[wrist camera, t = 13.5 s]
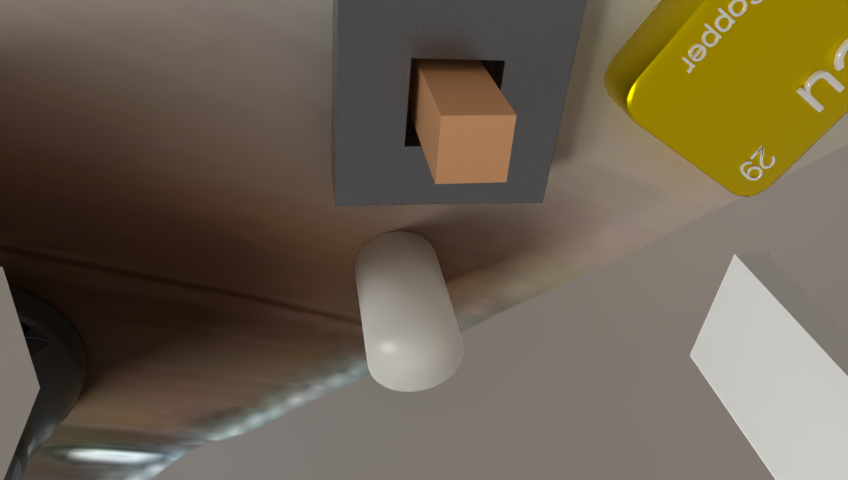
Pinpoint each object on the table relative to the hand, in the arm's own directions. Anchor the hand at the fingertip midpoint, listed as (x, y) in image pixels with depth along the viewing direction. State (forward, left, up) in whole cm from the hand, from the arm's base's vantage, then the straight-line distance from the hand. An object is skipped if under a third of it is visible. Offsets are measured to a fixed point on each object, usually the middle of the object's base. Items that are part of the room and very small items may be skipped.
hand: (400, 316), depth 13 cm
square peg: (+8, -8, -32) cm, 33 cm away
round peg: (+6, -23, -32) cm, 39 cm away
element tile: (+28, -5, -32) cm, 43 cm away
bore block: (+8, -8, -32) cm, 33 cm away
